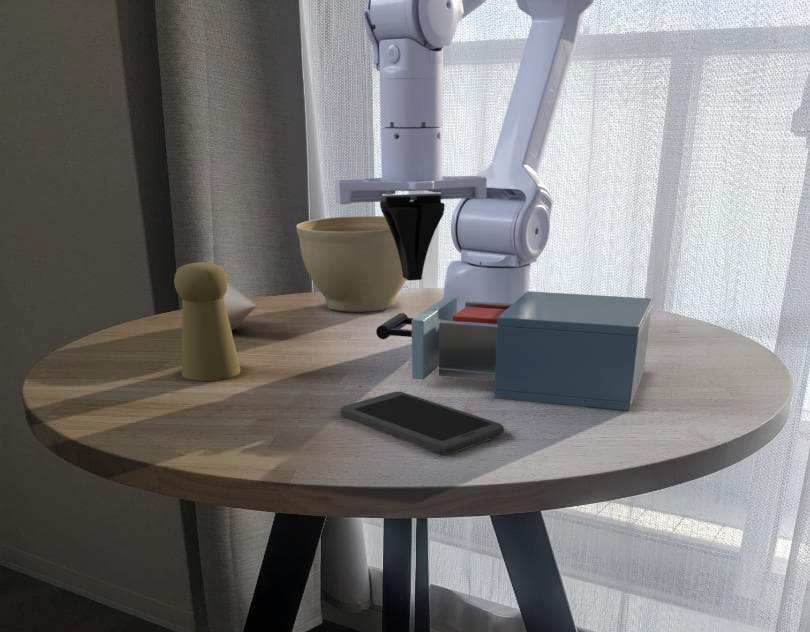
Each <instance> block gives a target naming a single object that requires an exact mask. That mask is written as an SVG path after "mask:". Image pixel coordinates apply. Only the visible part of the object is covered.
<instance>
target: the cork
mask: <svg viewBox="0 0 810 632" xmlns="http://www.w3.org/2000/svg"><path fill="white" fill-rule="evenodd" d="M173 281H174V283H173V284H174V288H175V290H176V293H177V295H178V296H179V297H180V298H181V302H182V303H181V304H182V305H181V308H182V310H181V312H182V314H181V315H182V317H181V318H182V320H181V334H182V335H181V339H182V340H181V377H183V378H184V379H187V380H189V381H190V380H191V381H195V382H210V381H211V382H213V381H215V382H216V381H222V380H227V379H230V378H234V377H236V376H238V375H239V374H241V365H240V362H239V358H238V354H237V349H236V344H235V340H234V336H233V332H232V331H233V330H231V327H230V323H229V318H228V314H227V310H226V305H225V301H224V295H225V293H226V291H227V286H228V282H229V281H228V275H227V273H226V271H225V269H224V268H223V267H222V266H221V265H219V264H218V263H217V264H216V263H212V262H200V261H199V262H198V261H197V262H192V263H187V264H183V265H181V266H180V267H178V268H177V269H176V272H175V274H174V279H173Z"/></svg>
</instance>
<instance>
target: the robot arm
mask: <svg viewBox="0 0 810 632" xmlns="http://www.w3.org/2000/svg"><path fill="white" fill-rule="evenodd" d="M515 1H516V4H517V7H518V9H519V10H520V11H522V12H523V13H525V14H526V15H527V16H529V17H530V18H531V24H530V27H529V31H528V35H527V39H526V42H525V45H524V49H523V51H522V52H523V53H522V56H521V60H520V62H519V66H518V70H517V74H516V77H515V80H514V83H513V88H512V92H511V95H510V98H509V101H508V103H507V108H506V112H505V116H504V118H503V123H502V126H501V128H500V133H499V136H498V139H497V143H496V146H495V150H494V154H493V157H492V160H491V164H490V165H488V166H487V167H485V168H484V169H483V170H481V171H480V172H478V173H477V174H476V175H443V100H444V99H443V97H444V96H443V95H444V93H443V92H444V91H443V90H444V47H448V46H450V45H451V43H452V41H453V40H454V37H455V35H456V32H457V28H458V24H459V23H460V21H461V20H463V19H464V18H466V17H467V16H469V15H470V14H471V13H472V12H474V11H475V10H477V9H478V8H479V7H480V6H482V5H483V4H484V3H486V2H487V0H367V3H366V5H367V6H366V10H364V11H363V21H364V22H363V23H364V27H365V30H366V34H367V36H368V38H369V41H370V43H371V46H372V50H373V51H372V52H373V64H374V65H375V69H376V71H378V72H379V109H380V112H379V114H380V151H381V153H380V154H381V155H380V156H381V158H380V159H381V177H375V178H374V177H373V178H358V179H356V178H355V179H339V180H338V179H337V180H334V193H335V195H334V196H335V202H336V203H337V204H339V205H350V204H354V203H357V204H358V203H378V202H379V207H380V210H381V213H382V216H384V217H385V219H386V221H387V223H388V225H389V228H390V230H391V233H392V235H393V238H394V241H395V244H396V247H397V250H398V254H399V258H400V262H401V267H402V273H403V278H405V279H406V281H422V279H423V271H424V268H425V267H424V266H425V262H426V259H427V254H428V251H429V248H430V245H431V242H432V241H433V240H432V239H433V237H434V234H435V232H436V230H437V228H438V226H439V223H440V221H441V220H442V218H443V217H444V214H445V208H446V207H445V206H446V205H445V203H444V202H442V200H455V199H457V200H459V202H458V203H457V204H456V206H455V208H454V210H453V213H452V217H451V220H450V221H451V222H450V236H451V239H452V244H453V246H454V247H455V249H456V251H457V252H458V253H460V260H452V261H451V262H450V263H449V264H448V266H447V268H446V273H445V276H444V283H443V284H444V285H443V299H444V298H445V297H447V296H448V297H457V313H458V312H459V311H461V310H462V309H463V308H465V302H467V301H476V302H492V303H507V304H513V303H515V302H516V301H517V300H518V299H519V298H520V297H521V296H522V295H524V294H525V293H526V292H527V291H530V282H531V268H532V267H531V266H532V264H533V263H537V261H538V258H539V257H540V256H541V254H542V253H543V252H544V251H545V248H546V246H547V244H548V241H549V236H550V229H551V214H552V209H553V204H554V199H553V197H552V194H551V192H550V191H549V188H547V186H546V185H545V184H544V182H542V180H541V179H540V178H539V177H538V176H539V173H540V169H541V165H542V162H543V158H544V155H545V151H546V148H547V145H548V141H549V139H550V134H551V131H552V128H553V124H554V121H555V117H556V114H557V112H558V111H557V110H558V107H559V104H560V100H561V97H562V94H563V90H564V86H565V84H566V80H567V76H568V73H569V69H570V65H571V63H572V59H573V55H574V53H575V49H576V46H577V41H578V38H579V34H580V32H581V28H582V25H583V20H584V17H585V11H586V10H587V9H589V7H591V6H592V5H593V3H594V1H595V0H515ZM423 191H428V192H431V193H413V194H412V193H411V194H410V193H409V194H408V193H407V194H396V192H423Z"/></svg>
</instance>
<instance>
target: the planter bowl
mask: <svg viewBox="0 0 810 632" xmlns="http://www.w3.org/2000/svg"><path fill="white" fill-rule="evenodd" d="M295 226H296V227H295V228H296V233H297V236H298V241H299V248H300V254H301V257H302V260H303V264H304V266H305V269H306V271H307V274H308V275H309V277H310V279H311V281H312V282H313V284H314V285H315V287H316V288H317V289H318V291H319V293H320V294H321V295H322V296H323V297H324V300H325V305H326V307H327V308H329V309H331V310H334V311H339V312H355V313H356V312H371V311H380V310H387V309H389V308H391V307H393V306H395V305H396V303H397V297H398V293H399V292H401V290H402V288H403V287H404V285H405V284H406V281H407V279H405V278H403V273H402V267H401V262H400V258H399V254H398V250H397V247H396V244H395V241H394V238H393V235H392V233H391V230H390V228H389V225H388V223H387V221H386V219H385V217H384V215H354V216H353V215H351V216H334V217H324V218H316V219H311V220H310V219H309V220H307V221H303V222H300V223H297V224H296V225H295Z"/></svg>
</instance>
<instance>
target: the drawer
mask: <svg viewBox="0 0 810 632" xmlns="http://www.w3.org/2000/svg"><path fill="white" fill-rule="evenodd" d="M511 305H512V304H507V303H492V302H476V301H467V302H465V307H477V308H493V309H508V308H509V307H510V306H511ZM455 314H457V297H448V296H447V297H445V298H444V297H443V298H442V299H441V300H439V301H438V302H436V303H434V304H433V305H431V306H430V307H429V308H427V309H425V310H424V311H423V312H421V313H420V314H418V315H417V316H415V317H409V316H408V315H407V314H406V313H404V312H400V313H398V314H396V315H394V316H393V317H392V318H390V319H388V320H387V321H385V322H384V323H381V324H380V325H379V326H377V327H376V331H375V334H376V336H377V337H378V338H379V339H380V340H387V339H388V338H389V337H391V336H394V337H406V338H407V337H408V338H411V378H412V380H421V381H424V380H425V379H426V378H427V377H429V375H431V373H433V372H434V371H435V370H436V369H437V368H438V370H437V371H438V373H437V374H438V375H437V376H438V377H443V378H453V379H466V380H474V381H475V380H476V381H487V382H495V367H496V341H497V324H487V323H473V322H459V321H453V316H454V315H455ZM407 325H409V326H410V325H411V329H406V328H404V327H406V326H407Z"/></svg>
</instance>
